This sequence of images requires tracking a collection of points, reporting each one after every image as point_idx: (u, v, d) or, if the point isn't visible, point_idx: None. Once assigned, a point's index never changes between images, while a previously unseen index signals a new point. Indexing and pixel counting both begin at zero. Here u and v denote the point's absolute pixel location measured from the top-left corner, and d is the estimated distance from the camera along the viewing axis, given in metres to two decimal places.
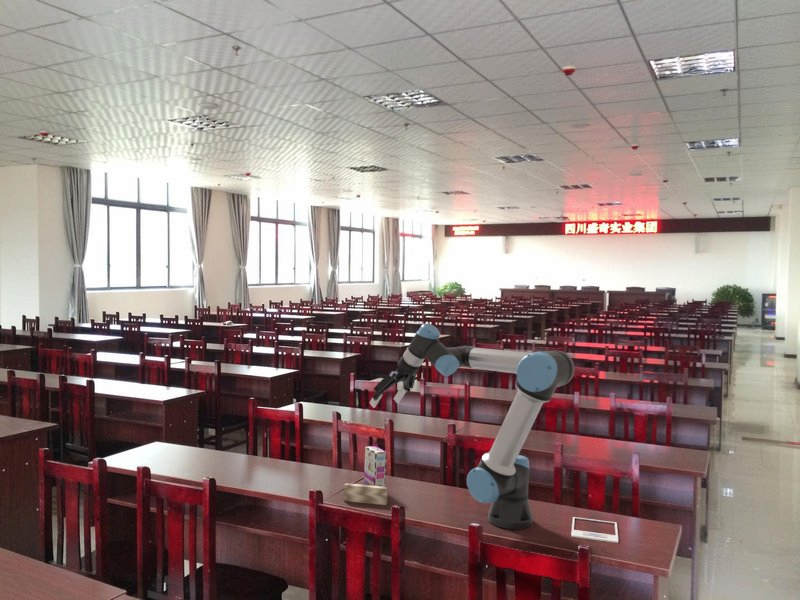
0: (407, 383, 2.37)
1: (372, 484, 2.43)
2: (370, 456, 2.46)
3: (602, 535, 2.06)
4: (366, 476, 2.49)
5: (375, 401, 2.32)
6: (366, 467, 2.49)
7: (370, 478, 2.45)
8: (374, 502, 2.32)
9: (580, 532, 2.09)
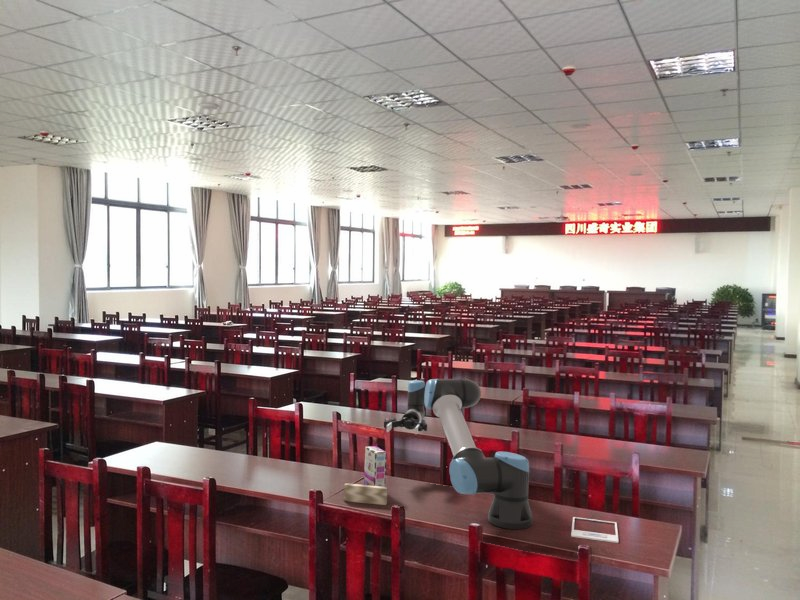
0: (416, 422, 2.66)
1: (372, 484, 2.43)
2: (370, 456, 2.46)
3: (602, 535, 2.06)
4: (366, 476, 2.49)
5: None
6: (366, 467, 2.49)
7: (370, 478, 2.45)
8: (374, 502, 2.32)
9: (580, 532, 2.09)
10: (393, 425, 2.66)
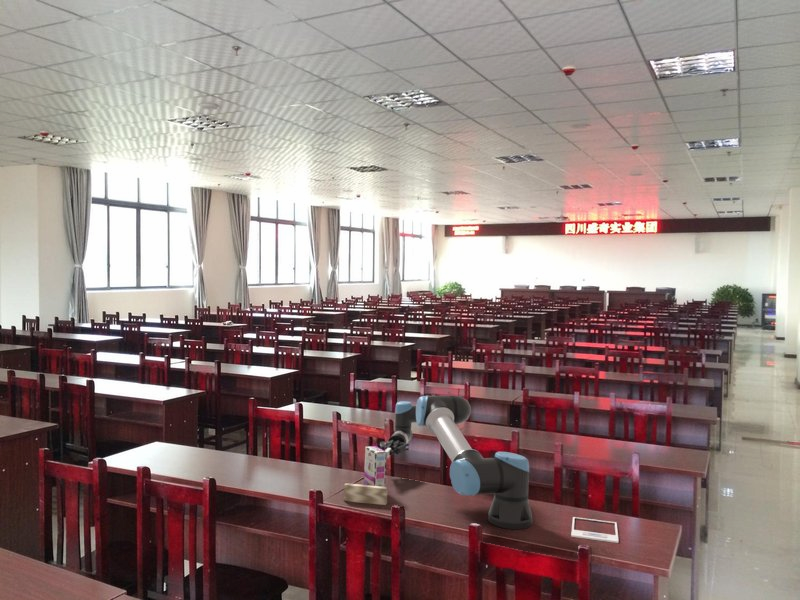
0: (395, 445, 2.67)
1: (372, 484, 2.43)
2: (370, 456, 2.46)
3: (602, 535, 2.06)
4: (366, 476, 2.49)
5: None
6: (366, 467, 2.49)
7: (370, 478, 2.45)
8: (374, 502, 2.32)
9: (580, 532, 2.09)
10: None
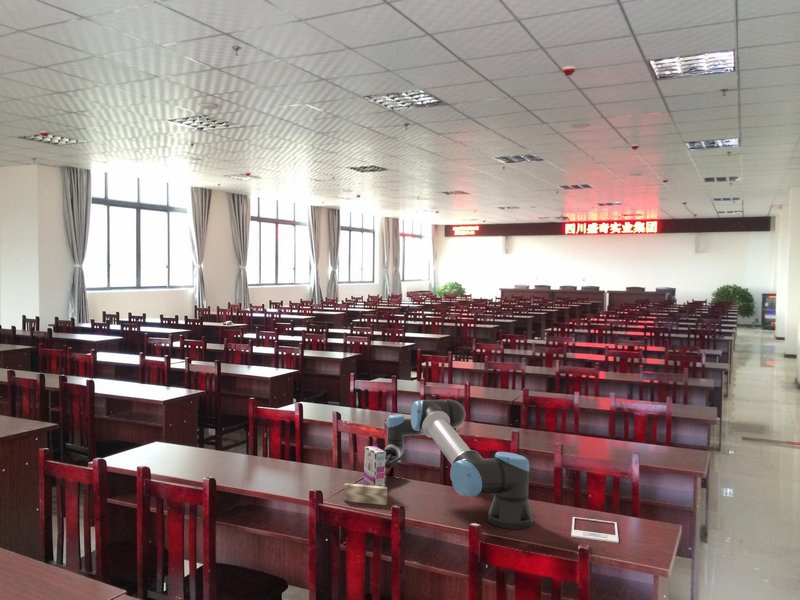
0: (386, 459, 2.64)
1: (372, 484, 2.43)
2: (370, 456, 2.45)
3: (602, 535, 2.06)
4: (366, 476, 2.49)
5: None
6: (366, 467, 2.49)
7: (370, 478, 2.45)
8: (374, 502, 2.32)
9: (580, 532, 2.09)
10: None
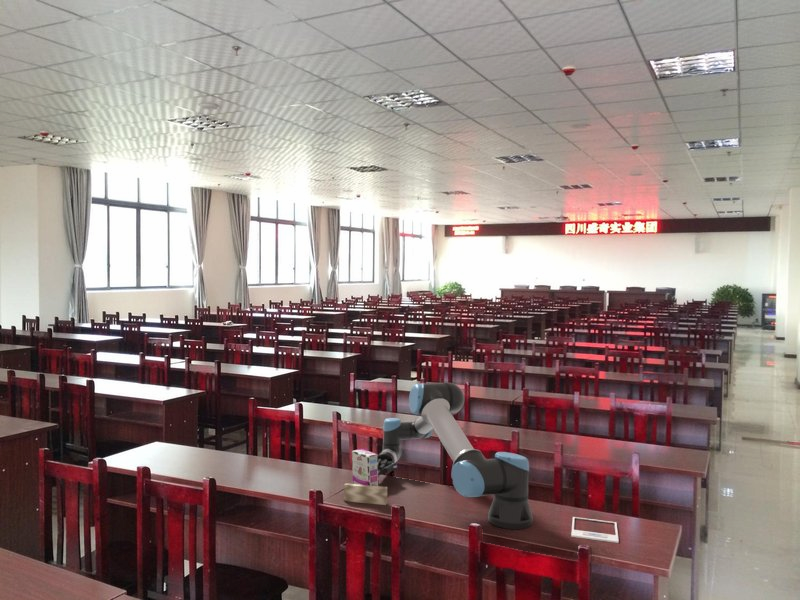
0: (382, 465, 2.55)
1: None
2: (361, 460, 2.39)
3: (602, 535, 2.06)
4: (356, 480, 2.43)
5: None
6: (355, 471, 2.43)
7: (362, 482, 2.39)
8: (374, 502, 2.32)
9: (580, 532, 2.09)
10: None
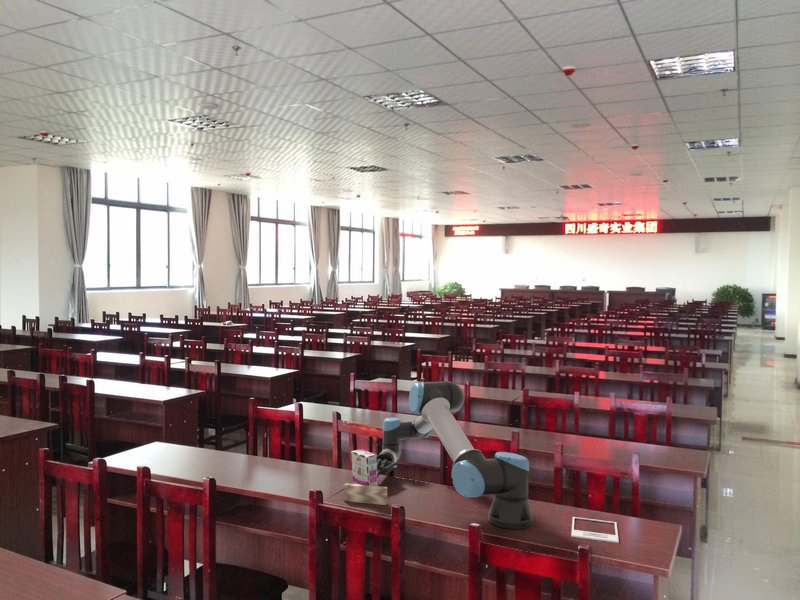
0: (382, 464, 2.54)
1: None
2: (360, 461, 2.39)
3: (602, 535, 2.06)
4: (356, 481, 2.42)
5: None
6: (355, 472, 2.42)
7: (362, 482, 2.39)
8: (374, 502, 2.32)
9: (580, 532, 2.09)
10: None
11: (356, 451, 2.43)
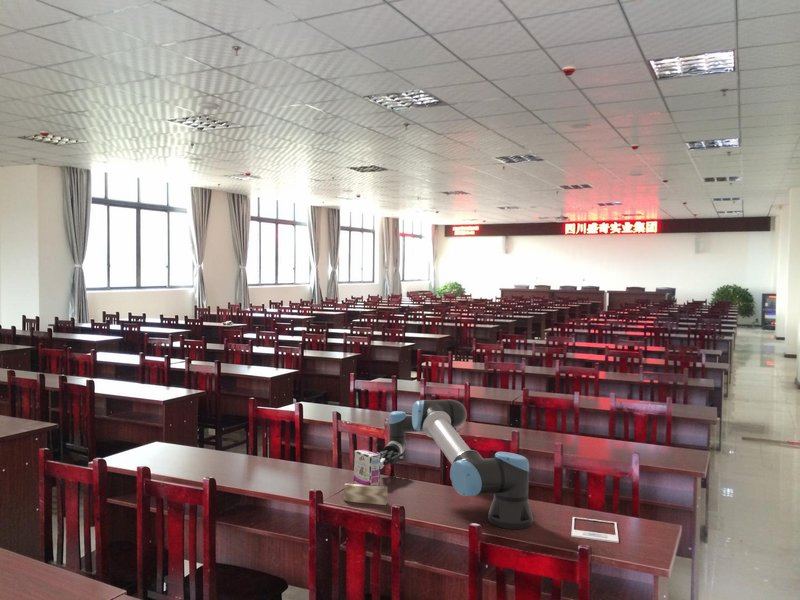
0: (389, 455, 2.65)
1: None
2: (363, 460, 2.39)
3: (602, 535, 2.06)
4: (357, 481, 2.42)
5: None
6: (357, 472, 2.43)
7: (363, 482, 2.39)
8: (374, 502, 2.32)
9: (580, 532, 2.09)
10: None
11: (359, 451, 2.44)
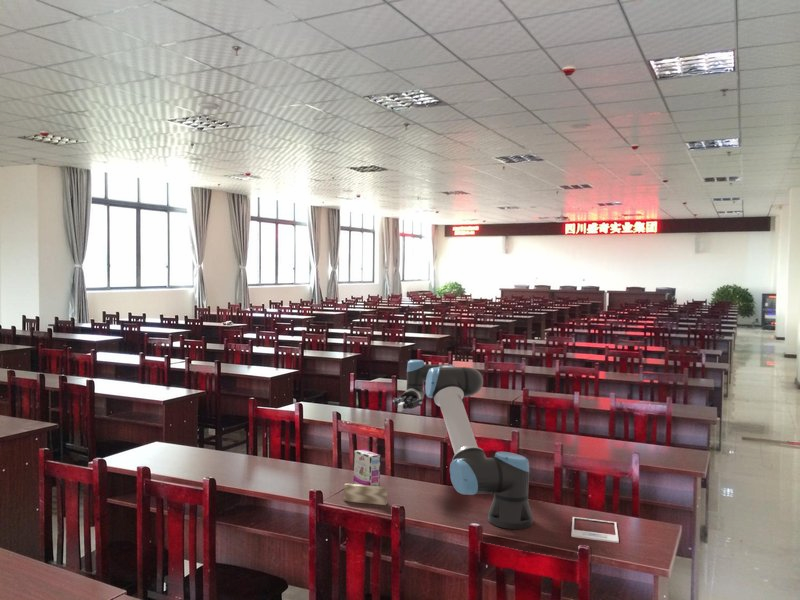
0: (408, 400, 2.62)
1: None
2: (363, 460, 2.39)
3: (602, 535, 2.06)
4: (357, 481, 2.42)
5: None
6: (357, 472, 2.43)
7: (363, 482, 2.39)
8: (374, 502, 2.32)
9: (580, 532, 2.09)
10: None
11: (359, 451, 2.44)
